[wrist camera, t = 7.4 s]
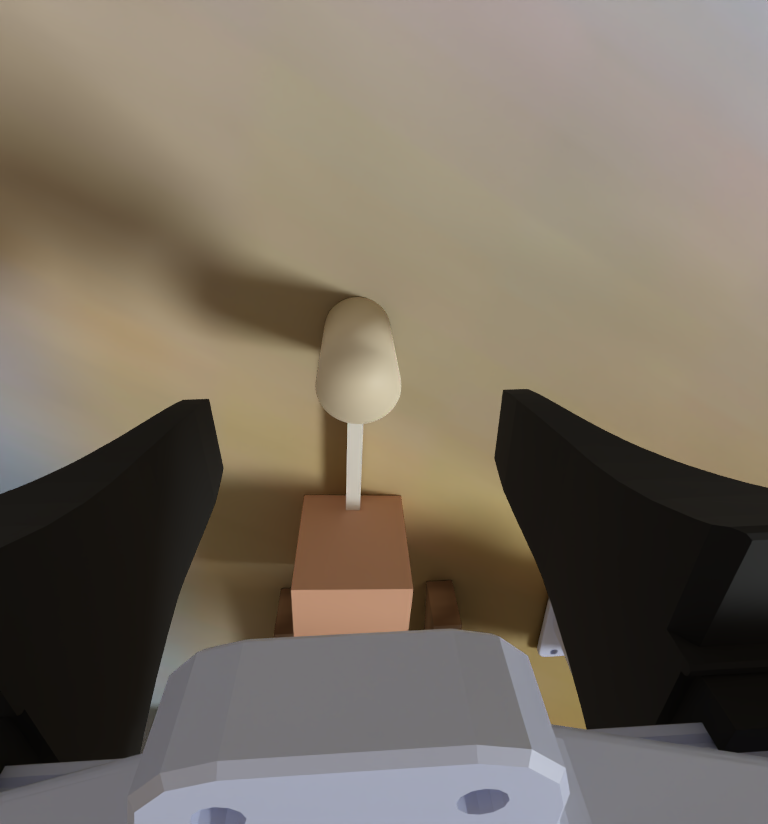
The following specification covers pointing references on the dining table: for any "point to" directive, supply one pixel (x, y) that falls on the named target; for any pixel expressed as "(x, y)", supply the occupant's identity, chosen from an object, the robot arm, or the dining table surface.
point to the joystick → (353, 492)
